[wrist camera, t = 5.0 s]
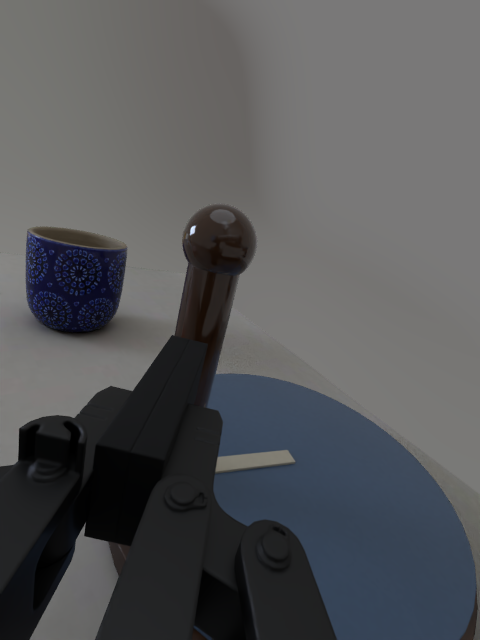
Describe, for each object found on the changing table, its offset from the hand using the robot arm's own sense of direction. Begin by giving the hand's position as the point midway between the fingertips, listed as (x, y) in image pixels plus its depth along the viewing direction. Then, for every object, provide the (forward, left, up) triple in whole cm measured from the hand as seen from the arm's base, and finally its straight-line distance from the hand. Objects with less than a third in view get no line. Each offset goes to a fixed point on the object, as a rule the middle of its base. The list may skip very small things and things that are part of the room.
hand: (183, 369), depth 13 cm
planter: (+5, -33, -12) cm, 35 cm away
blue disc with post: (-11, -4, -10) cm, 15 cm away
